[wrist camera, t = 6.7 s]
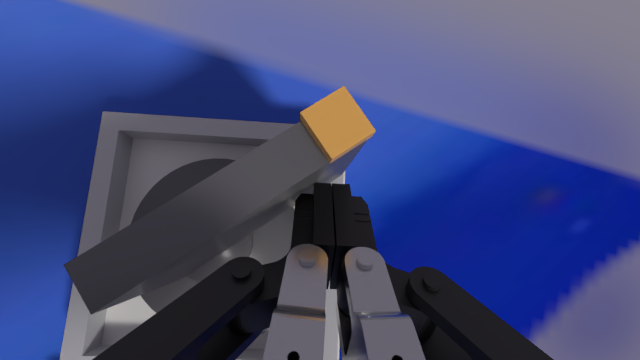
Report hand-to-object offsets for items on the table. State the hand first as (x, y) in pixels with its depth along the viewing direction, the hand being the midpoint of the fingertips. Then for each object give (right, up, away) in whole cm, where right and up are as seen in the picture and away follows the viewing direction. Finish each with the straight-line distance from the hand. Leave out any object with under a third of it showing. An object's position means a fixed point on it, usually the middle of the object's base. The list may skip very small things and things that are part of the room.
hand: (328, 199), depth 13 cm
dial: (-5, -2, +4) cm, 7 cm away
